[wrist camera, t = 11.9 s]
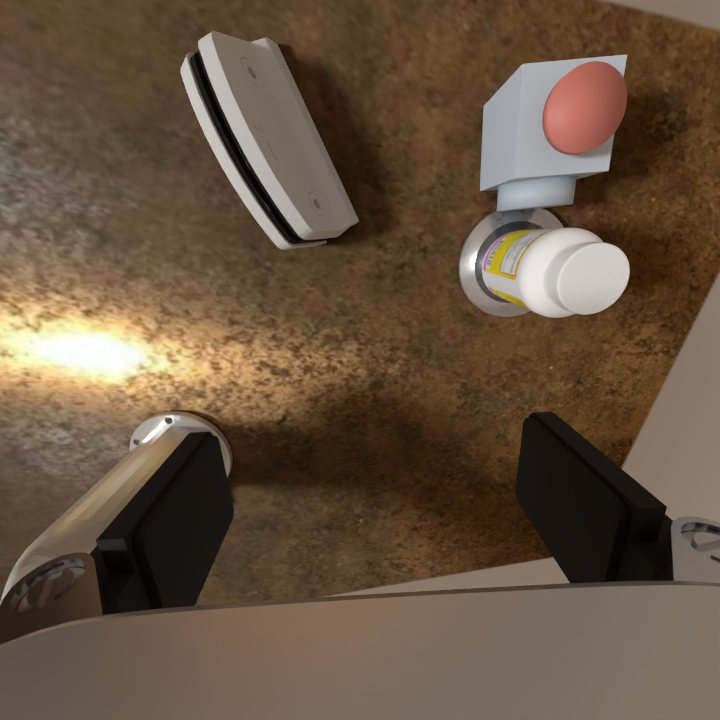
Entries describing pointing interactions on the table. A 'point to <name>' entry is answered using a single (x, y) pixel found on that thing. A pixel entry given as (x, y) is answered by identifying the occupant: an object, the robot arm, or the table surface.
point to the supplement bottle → (556, 271)
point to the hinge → (266, 140)
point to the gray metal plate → (479, 245)
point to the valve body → (551, 130)
